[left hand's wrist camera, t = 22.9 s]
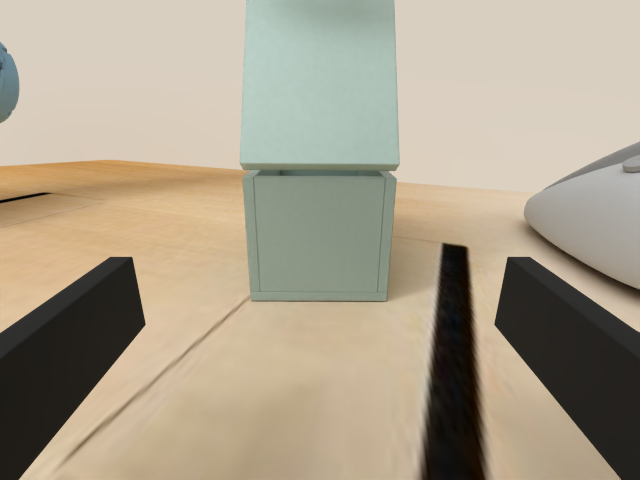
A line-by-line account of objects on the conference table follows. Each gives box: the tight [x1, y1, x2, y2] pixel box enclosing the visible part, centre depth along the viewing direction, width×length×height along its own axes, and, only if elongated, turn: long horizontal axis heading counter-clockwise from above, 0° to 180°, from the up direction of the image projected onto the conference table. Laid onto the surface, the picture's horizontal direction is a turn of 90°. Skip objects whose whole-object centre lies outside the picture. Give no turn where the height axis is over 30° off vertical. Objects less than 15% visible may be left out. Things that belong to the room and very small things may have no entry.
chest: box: [242, 170, 397, 301], centre depth 32 cm, size 17×10×9 cm, turn 0°
